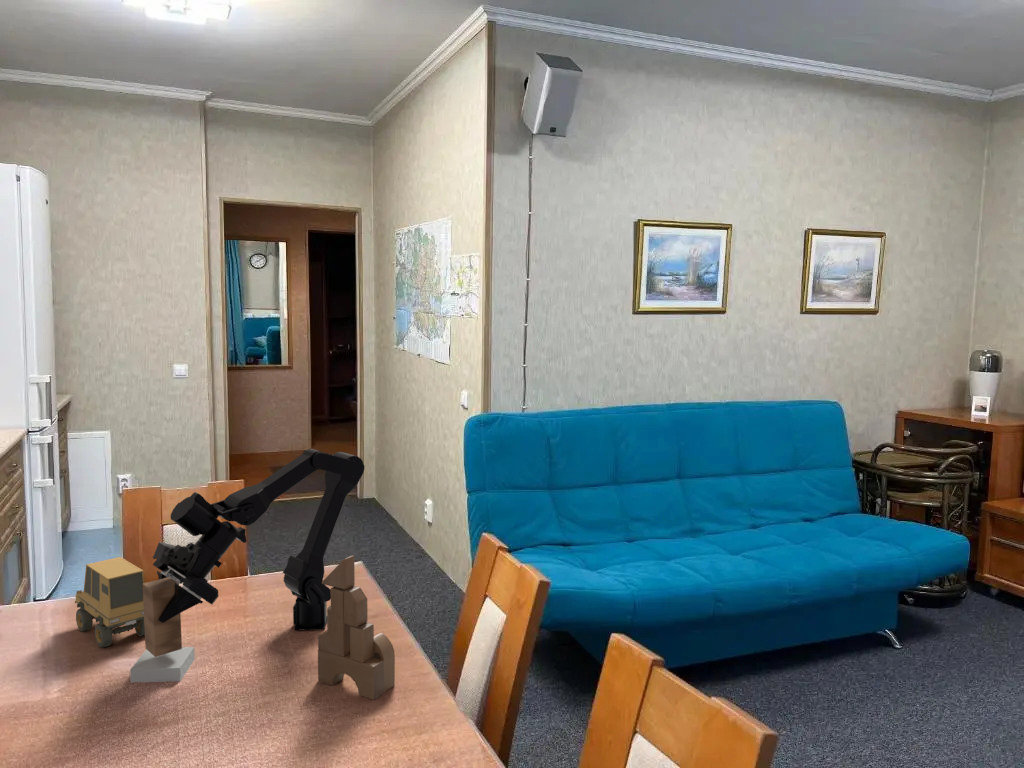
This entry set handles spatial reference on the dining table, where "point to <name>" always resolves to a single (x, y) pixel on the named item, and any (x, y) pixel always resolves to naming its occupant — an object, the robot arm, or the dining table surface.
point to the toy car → (111, 599)
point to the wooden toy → (353, 639)
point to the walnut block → (155, 601)
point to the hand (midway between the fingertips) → (155, 617)
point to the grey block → (162, 666)
